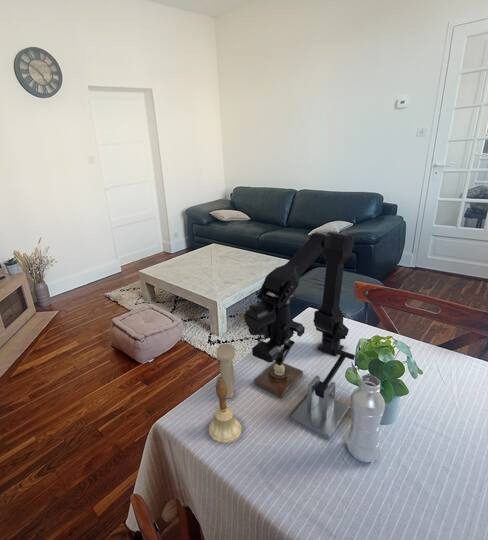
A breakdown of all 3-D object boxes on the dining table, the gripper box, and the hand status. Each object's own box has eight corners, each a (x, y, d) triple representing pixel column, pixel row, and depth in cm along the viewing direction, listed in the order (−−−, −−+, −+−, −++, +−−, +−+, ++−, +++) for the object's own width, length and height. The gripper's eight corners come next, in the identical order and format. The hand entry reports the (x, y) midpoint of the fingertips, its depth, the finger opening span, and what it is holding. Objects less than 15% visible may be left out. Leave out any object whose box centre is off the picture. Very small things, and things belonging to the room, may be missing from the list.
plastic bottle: (365, 472, 71) (374, 396, 64) (339, 449, 76) (345, 377, 69) (385, 458, 73) (396, 384, 66) (358, 436, 79) (366, 366, 72)
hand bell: (232, 448, 79) (228, 394, 73) (202, 435, 83) (196, 382, 78) (247, 423, 85) (244, 372, 80) (218, 412, 90) (214, 362, 84)
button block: (276, 364, 106) (276, 355, 105) (303, 376, 100) (303, 366, 99) (254, 385, 99) (254, 375, 97) (282, 398, 93) (282, 388, 91)
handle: (237, 387, 98) (234, 343, 93) (236, 403, 92) (234, 357, 87) (220, 387, 99) (217, 343, 94) (219, 403, 93) (215, 357, 88)
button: (277, 367, 100) (277, 362, 100) (286, 371, 98) (286, 366, 98) (271, 372, 98) (271, 367, 98) (281, 377, 96) (281, 372, 96)
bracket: (312, 393, 94) (313, 364, 90) (349, 410, 87) (352, 379, 83) (290, 419, 86) (291, 388, 82) (329, 440, 79) (331, 407, 75)
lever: (336, 352, 94) (336, 346, 93) (355, 359, 91) (355, 352, 90) (309, 392, 85) (309, 386, 84) (329, 401, 82) (328, 394, 80)
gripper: (272, 297, 103) (272, 341, 109) (235, 322, 91) (237, 370, 97) (306, 307, 96) (304, 353, 102) (270, 335, 84) (270, 386, 89)
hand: (279, 364), depth 97 cm, fingers closed
